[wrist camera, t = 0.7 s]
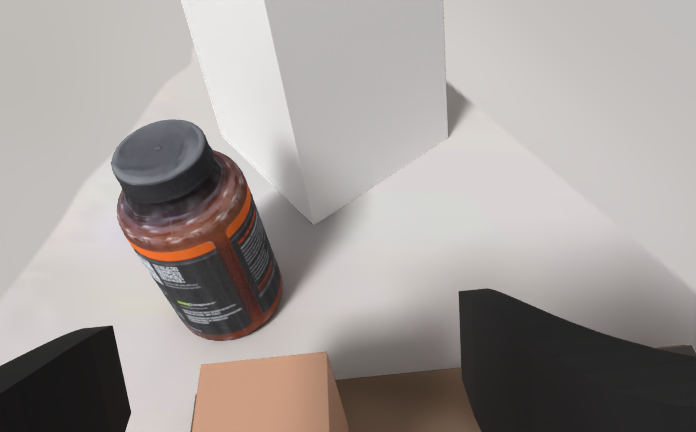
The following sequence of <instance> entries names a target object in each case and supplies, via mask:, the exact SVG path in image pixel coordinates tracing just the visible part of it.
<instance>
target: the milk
mask: <svg viewBox="0 0 696 432" xmlns="http://www.w3.org/2000/svg"><path fill="white" fill-rule="evenodd" d="M181 3H182V6H183V10H184V13H185V16H186V19H187V23H188V26H189V30H190V33H191V36H192V40H193V43H194V46H195V50H196V53H197V56H198V60H199V63H200V66H201V69H202V73H203V76H204V79H205V83H206V86H207V89H208V93H209V96H210V99H211V103H212V106H213V109H214V113H215V116H216V119H217V123H218V126H219V129H220V133H221V136H222V137H223V138H224V139H225V140H226V141H227V142H228V143H229V144H230V145H231V146H232V147H233V148H234V149H236V150H237V151H238V152H239V153H240V154H241V155H242V156H243V157H244V158H245V159H246V160H247V161H248V162H249V163H250V164H251V165H252V166H253V167H254V168H255V169H256V170H257V171H258V172H259V173H260V174H261V175H262V176H263V177H264V178H265V179H266V180H268V181H269V182H270V183H271V184H272V185H273V186H274V187H275V188H276V189H277V190H278V191H279V192H280V193H281V194H282V195H283V196H284V197H285V198H286V199H287V200H288V201H289V202H290V203H291V204H292V205H293V206H294V207H295V208H296V209H297V210H299V211H300V212H301V213H302V214H303V215H304V216H305V217H306V218H307V219H308V220H309V221H310V222H311V223H312V224H313V225H315V224H317V223H318V222H320V221H321V220H323V219H324V218H326V217H328V216H329V215H331V214H332V213H334V212H335V211H337V210H338V209H340V208H341V207H343V206H345V205H346V204H348V203H349V202H351V201H352V200H354V199H355V198H357V197H358V196H360V195H361V194H363V193H365V192H366V191H368V190H369V189H371V188H372V187H374V186H375V185H377V184H378V183H380V182H382V181H383V180H385V179H386V178H388V177H389V176H391V175H392V174H394V173H395V172H397V171H399V170H400V169H402V168H403V167H405V166H406V165H408V164H409V163H411V162H412V161H414V160H416V159H417V158H419V157H420V156H422V155H423V154H425V153H426V152H428V151H429V150H431V149H433V148H434V147H436V146H437V145H439V144H440V143H442V142H443V141H445V140H446V139H448V123H447V96H446V72H445V71H446V70H445V42H444V16H443V0H181Z"/></svg>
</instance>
